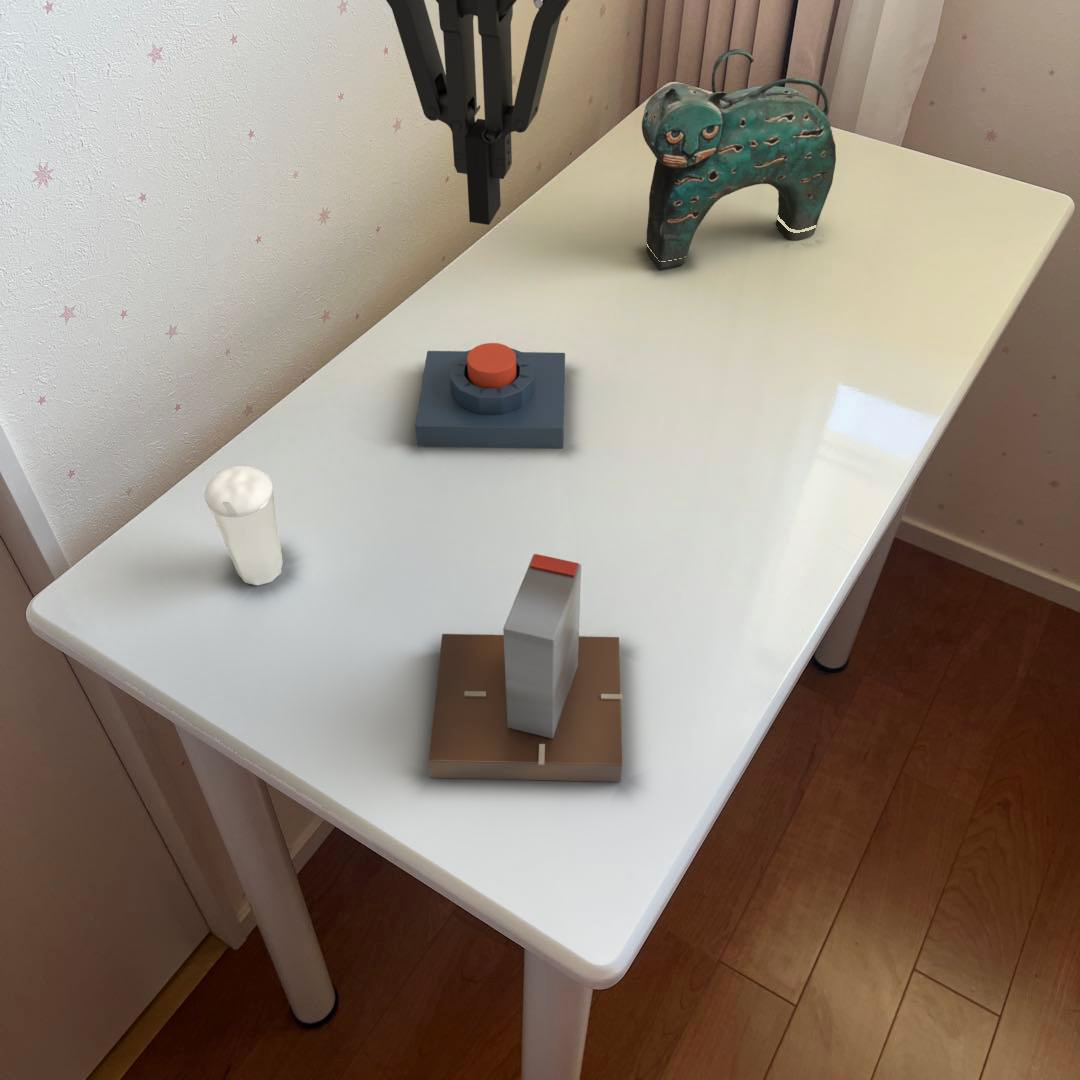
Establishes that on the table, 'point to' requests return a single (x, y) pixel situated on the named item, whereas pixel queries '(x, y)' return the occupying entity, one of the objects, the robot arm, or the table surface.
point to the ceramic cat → (734, 157)
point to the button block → (492, 404)
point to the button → (491, 365)
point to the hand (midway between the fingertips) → (485, 213)
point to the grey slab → (542, 645)
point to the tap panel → (504, 753)
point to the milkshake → (247, 521)
